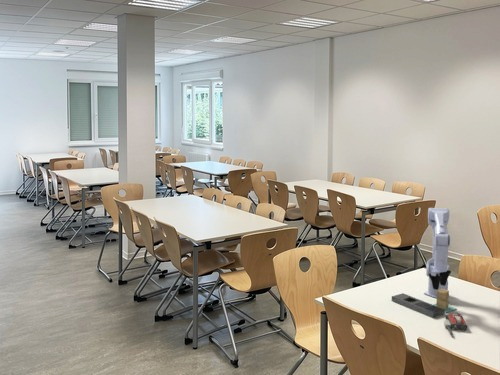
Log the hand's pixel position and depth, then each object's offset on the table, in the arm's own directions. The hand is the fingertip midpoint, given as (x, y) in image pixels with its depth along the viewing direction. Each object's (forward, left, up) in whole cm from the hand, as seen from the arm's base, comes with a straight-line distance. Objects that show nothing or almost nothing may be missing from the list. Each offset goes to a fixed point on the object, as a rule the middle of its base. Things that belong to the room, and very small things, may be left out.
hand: (439, 287), depth 229 cm
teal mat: (+1, +3, -9) cm, 10 cm away
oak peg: (+1, +3, -9) cm, 9 cm away
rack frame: (+10, -4, -9) cm, 14 cm away
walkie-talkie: (+14, +19, -10) cm, 26 cm away
